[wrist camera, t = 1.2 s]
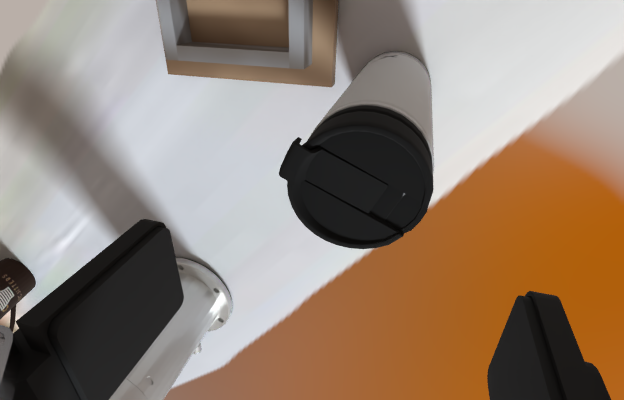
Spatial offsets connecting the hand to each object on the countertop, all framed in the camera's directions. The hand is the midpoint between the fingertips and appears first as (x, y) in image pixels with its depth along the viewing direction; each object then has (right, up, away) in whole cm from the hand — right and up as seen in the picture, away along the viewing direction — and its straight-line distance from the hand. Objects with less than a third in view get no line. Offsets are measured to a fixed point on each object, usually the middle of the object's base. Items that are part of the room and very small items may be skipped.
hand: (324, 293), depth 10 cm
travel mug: (+7, +12, +22) cm, 26 cm away
